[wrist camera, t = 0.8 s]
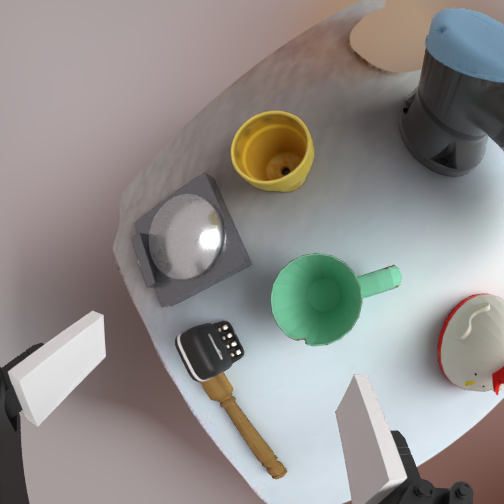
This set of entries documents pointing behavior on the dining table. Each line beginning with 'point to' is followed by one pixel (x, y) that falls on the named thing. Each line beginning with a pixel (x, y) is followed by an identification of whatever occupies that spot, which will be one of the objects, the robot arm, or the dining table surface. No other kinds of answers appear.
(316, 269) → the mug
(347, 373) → the dining table surface
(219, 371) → the battery charger
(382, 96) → the dining table surface
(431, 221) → the dining table surface
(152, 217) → the scale
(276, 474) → the turned wooden baluster
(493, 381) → the kitchen timer
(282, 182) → the plant pot
